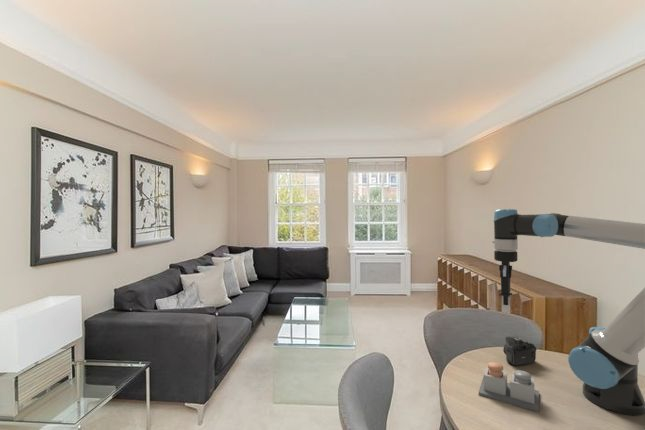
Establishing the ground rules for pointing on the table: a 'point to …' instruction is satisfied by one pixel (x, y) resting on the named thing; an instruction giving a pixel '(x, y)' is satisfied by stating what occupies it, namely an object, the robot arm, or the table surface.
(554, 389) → the table surface
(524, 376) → the plug grey
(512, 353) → the camera
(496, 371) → the plug terracotta
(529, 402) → the panel
